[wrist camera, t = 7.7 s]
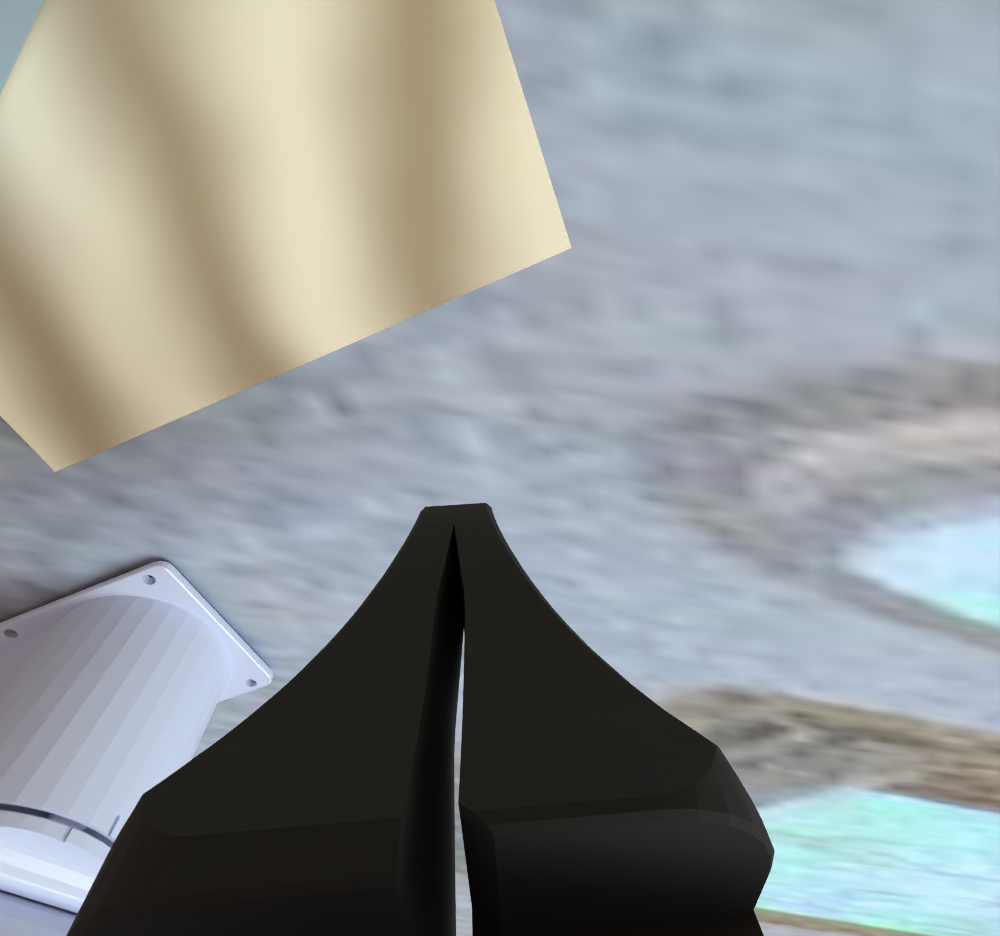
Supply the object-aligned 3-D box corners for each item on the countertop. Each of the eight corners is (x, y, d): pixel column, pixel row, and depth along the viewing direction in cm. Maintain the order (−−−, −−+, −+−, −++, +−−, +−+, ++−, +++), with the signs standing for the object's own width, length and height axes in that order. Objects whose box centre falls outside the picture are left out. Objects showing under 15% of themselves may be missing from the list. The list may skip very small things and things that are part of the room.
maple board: (76, 455, 20) (55, 472, 19) (-463, -122, 12) (-551, -150, 11) (564, 242, 17) (571, 248, 16) (278, -662, 9) (256, -765, 8)
